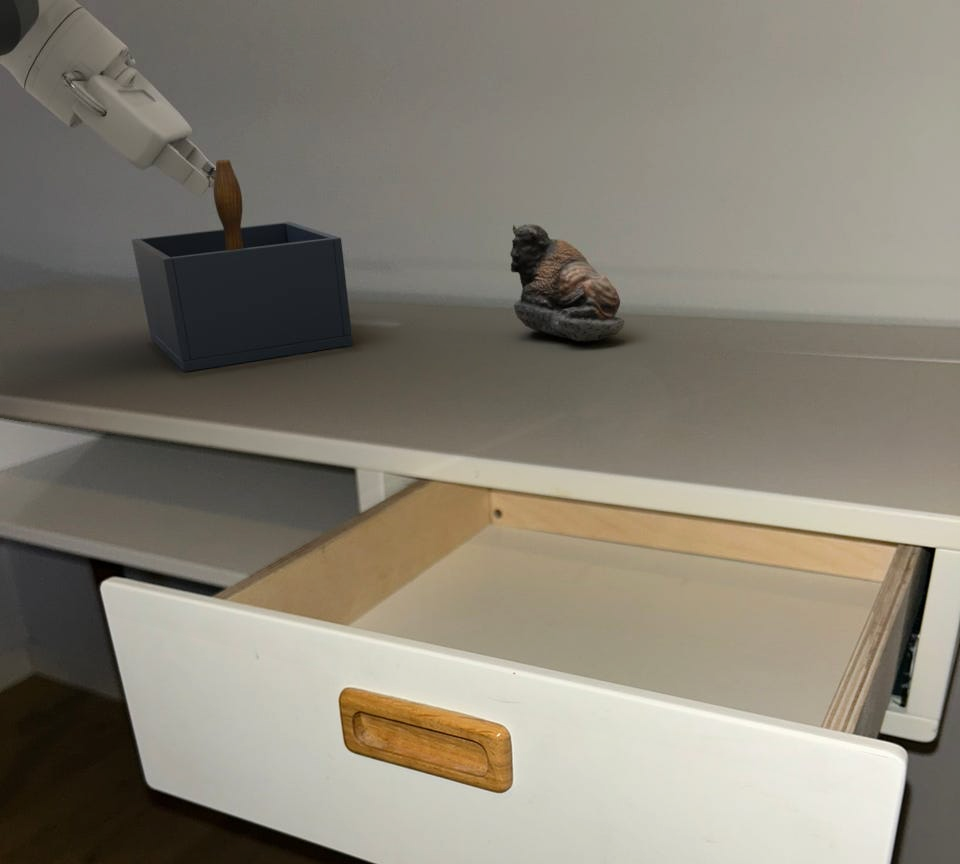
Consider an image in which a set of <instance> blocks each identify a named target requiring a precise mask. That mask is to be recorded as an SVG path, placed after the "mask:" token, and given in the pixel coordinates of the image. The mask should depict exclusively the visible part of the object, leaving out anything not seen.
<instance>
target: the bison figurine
mask: <svg viewBox="0 0 960 864" xmlns="http://www.w3.org/2000/svg"><path fill="white" fill-rule="evenodd" d="M512 232H513V235H515V236H514V238H513V239H512V240H511V243H512V248H511V250H510V252H509V253H510V254H509V255H510V257H511V263H510V271H511V273H516V274H517V273H518V275H519V280H520V284H521V287H522V289H521V294H520V299H519V300H518V301H516V302H515V303H514V304H513V309H514V311H515V315H516V317H517V319H518V320H520V321H521V322H522V324H523V325H524V326H526V327H527V328H529V329H532V330H535V331H539V332H541V333H544V334H547V335H551V336H554V337H559V338H562V339H566V340H567V339H568V340H572V341H576V342H581V343H583V342H584V343H590V342H598V341H602V340H604V339H606V338H610V337H612V336H615V335H617V334H618V333H619V332H620V331H621V330H622V329H623V328H624V325H625V320H624V319H623V318H621V317H619V316H618V317H617V316H616V315H617V313H618V312H619V308H620V306H621V298H620V295H619V294H618V291H617V289H616V288H615V286H614V285H613V284H612V283H611V281H610V279H609V278H608V277H607V276H606V275H600V273H599V272H598V271H597V270H596V269H595V268H594V267H593V266H592V265H591V264H590V263H589V262H588V260H587V258H586V257H585V256H584V255H583V253H582V252H581V251H580V250H579V249H578V248H577V247H575V246H573V245H572V244H570V243H569V242H567V241H566V240H563V239H561V238H557V239H555V238H552V239H551V238H550V237H549V234H548V232H547V231H546V230H545V229H544V228H543V227H542V226H540V225H538V224H531V223H530V224H523V225H521V226H518V227H516V225H515V224H513V225H512Z"/></svg>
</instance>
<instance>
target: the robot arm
mask: <svg viewBox="0 0 960 864" xmlns="http://www.w3.org/2000/svg"><path fill="white" fill-rule="evenodd" d="M129 52H130V49H129V47H128V46H127V45H126V44H125V43H124V42H123V41H122V40H120V38H118V37H117V36H116V35H115V34H114V33H113V32H112V31H110V30H109V29H108V28H107V27H106V26H105V25H104V24H102V22H101V21H99V20H98V19H97V17H94V16H93V15H92V14H91V13H90V12H89V11H88V10H87V9H86V8H84V7H83V6H82V5H81V4H80V3H78V2H77V1H76V0H0V65H2V66H3V67H4V68H5V69H7V71H8V72H9V73H10V74H11V75H12V76H13V77H14V79H15V80H16V81H17V83H18V84H19V86H20V87H21V88H23V90H25V91H26V92H27V93H28V94H29V95H31V97H33V99H34V98H35V100H37V101H38V102H39V103H40V104H41V105H42V106H44V107H45V108H46V109H47V110H48V111H50V112H51V113H52V114H53V115H55V117H57V118H58V119H59V120H60V121H62V122H63V124H65V125H66V126H68V127H69V128H70V129H75V128H76V127H78V126H79V125H81V124H82V123H84V124H86V125H87V127H88V128H90V129H91V130H92V131H93V132H94V133H95V134H96V135H97V136H99V137H100V138H101V139H102V140H103V141H104V142H105V143H106V144H108V146H110V147H111V148H112V149H113V150H114V151H116V153H117V154H119V155H120V156H121V157H122V158H123V159H125V161H127V162H128V163H130V164H131V165H132V166H134V167H135V168H137V169H139V170H142V171H143V170H146V169H149V168H151V167H156V168H157V169H158V170H159V171H160V172H162V173H163V174H165V176H167V177H169V178H171V180H173V181H175V182H177V183H179V184H181V185H182V186H183V187H184V188H186V189H187V190H188V191H189V192H191V193H192V194H193V195H194V196H196V197H201V196H203V195H204V194H205V193H206V191H207V190H208V189H209V188H214V178H215V172H216V165H214V164H213V163H212V162H211V161H210V160H209V159H208V158H207V157H206V156H205V154H204V153H203V152H202V151H201V150H200V148H199V147H198V146H197V145H196V144H194V142H192V141H191V140H190V138H191V136H192V135H193V129H192V127H191V125H190V124H189V123H188V121H187V120H186V119H185V118H184V116H183V115H181V114H180V112H179V111H178V110H177V109H176V108H175V107H174V106H173V105H172V104H171V103H170V102H169V101H168V100H167V98H165V96H163V94H162V93H160V91H158V89H157V88H156V87H155V86H153V84H152V83H151V82H150V81H149V80H148V79H147V78H146V77H145V76H144V75H142V73H141V72H140V71H138V70H137V69H136V68H134V67H135V65H136V60H135V59H134V57H132V55H131V54H129Z"/></svg>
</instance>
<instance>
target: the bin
mask: <svg viewBox="0 0 960 864" xmlns="http://www.w3.org/2000/svg"><path fill="white" fill-rule="evenodd" d="M241 238H242V244H243V249H235V250H227V249H226V238H225V232H224V228H221V229H220V228H219V229H213V230H206V231H205V230H204V231H195V232H194V231H193V232H186V233H177V234H167V235H159V236H150V237H142V238H133V239H131V244H132V249H133V254H134V259H135V265H136V270H137V274H138V279H139V284H140V290H141V294H142V299H143V305H144V309H145V315H146V319H147V320H146V321H147V324H148V329H149V335H150V339H151V341H152V342H153V343H154V344H155V345H156V346H158V348H159V349H160V350H162V352H164V354H165V355H167V356H168V358H170V360H171V361H173V362H174V364H176V365H177V366H178V367H179V368H180V369H181V371H183V372H184V373H188V372H194V371H200V370H205V369H206V370H207V369H213V368H219V367H225V366H232V365H237V364H244V363H249V362H250V363H251V362H257V361H262V360H269V359H274V358H275V359H276V358H281V357H289V356H294V355H301V354H306V353H313V352H320V351H326V350H332V349H339V348H344V347H351V346H353V345H354V343H353V335H352V334H353V333H352V332H353V331H352V324H351V315H350V306H349V298H348V289H347V287H348V286H347V279H346V270H345V262H344V253H343V252H344V251H343V242H342V238H341V237H339V236H336V235H333V234H331V233H330V234H329V233H326V232H323V231H320V230H317V229H314V228H311V227H308V226H305V225H303V224H302V225H301V224H298V223H296V222H292V221H284V222H282V221H281V222H274V223H266V224H256V225H246V226H241Z"/></svg>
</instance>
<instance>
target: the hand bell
mask: <svg viewBox="0 0 960 864" xmlns="http://www.w3.org/2000/svg"><path fill="white" fill-rule="evenodd" d="M215 167H216V172H215V178H214V186H213V198H214V205H215V208H216V209H215V210H216V213H217V216H218V219H219V221H220V222H221V225H222V229H224V232H225V238H226V249H227V250H235V249H243V244H242V238H241V227H242V221H243V220H242V219H243V196H242V190H241V186H240V182H239V180H238V178H237V176H236V174H235V171H234V169H233V166H232V163H231V160H230V159H219V160H216V162H215Z"/></svg>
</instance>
